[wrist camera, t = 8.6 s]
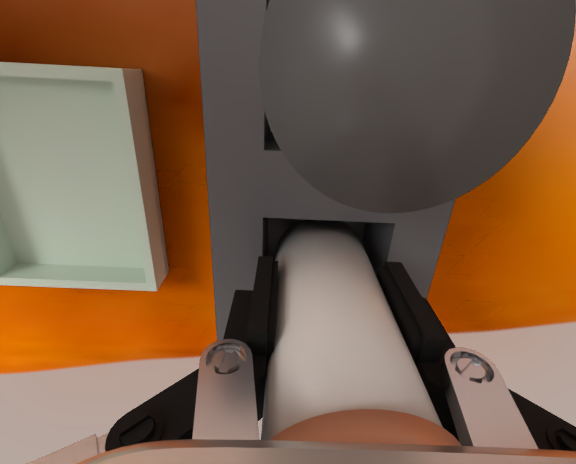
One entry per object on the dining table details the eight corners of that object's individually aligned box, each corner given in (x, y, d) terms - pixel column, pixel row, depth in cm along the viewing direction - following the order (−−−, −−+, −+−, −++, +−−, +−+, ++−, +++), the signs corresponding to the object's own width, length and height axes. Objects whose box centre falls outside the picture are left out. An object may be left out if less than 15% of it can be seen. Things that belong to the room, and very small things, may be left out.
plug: (271, 210, 14) (240, 466, 5) (375, 215, 14) (539, 476, 5) (269, 295, 16) (242, 595, 7) (360, 299, 16) (457, 599, 7)
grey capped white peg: (280, 6, 13) (260, -155, 4) (392, 13, 13) (640, -130, 4) (276, 124, 15) (257, 207, 6) (374, 129, 15) (509, 218, 6)
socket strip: (221, -36, 13) (181, -100, 8) (444, -23, 13) (535, -78, 9) (231, 274, 20) (212, 340, 15) (381, 280, 20) (412, 348, 15)
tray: (-58, 58, 15) (-106, 56, 13) (142, 69, 15) (122, 68, 13) (18, 265, 20) (-9, 284, 18) (169, 271, 20) (156, 291, 18)
